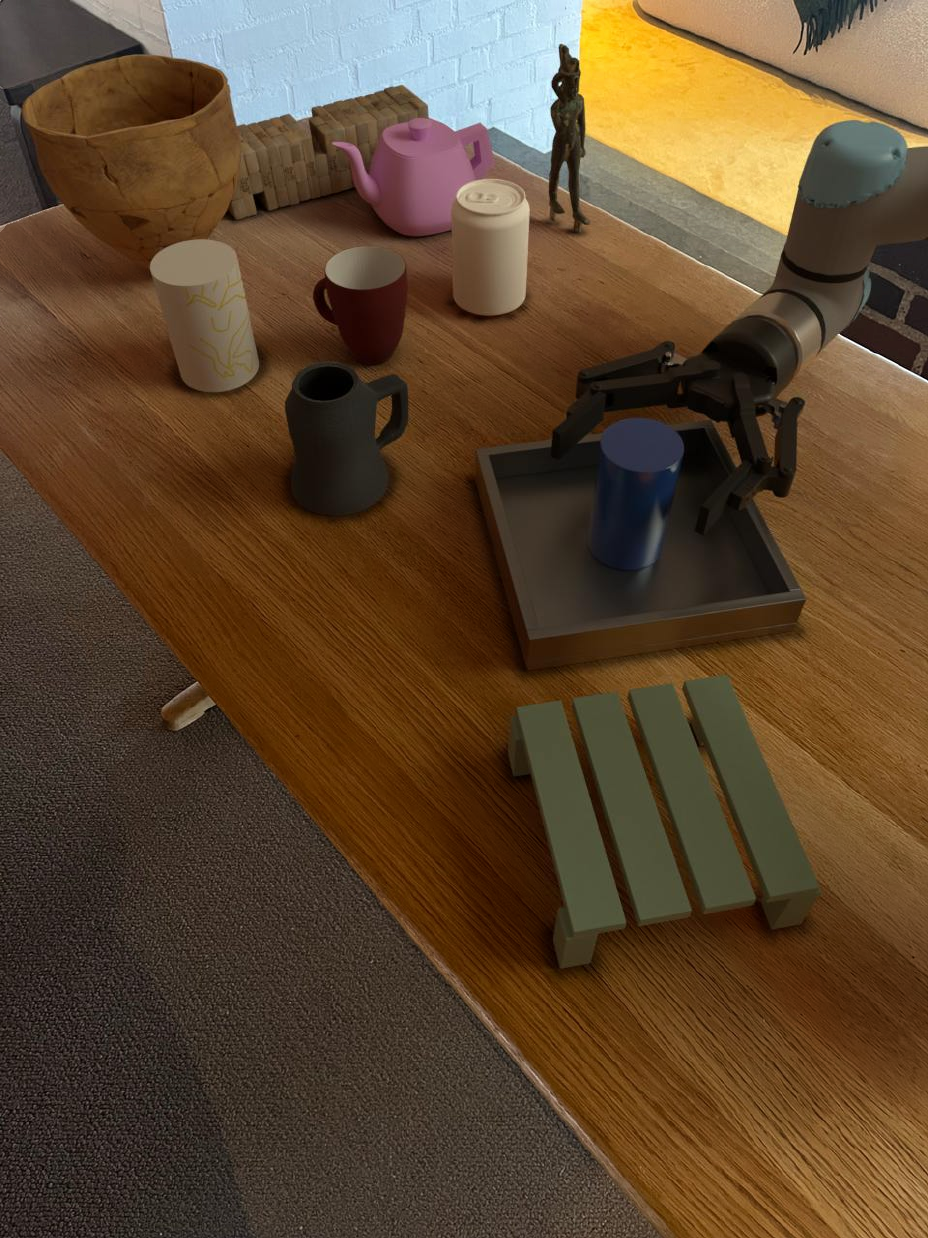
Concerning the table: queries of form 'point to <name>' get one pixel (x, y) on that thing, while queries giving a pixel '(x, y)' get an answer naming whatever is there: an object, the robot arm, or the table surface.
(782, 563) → the tray
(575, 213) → the statue
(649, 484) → the navy blue cylinder
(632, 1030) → the table surface
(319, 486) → the mug
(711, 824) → the rack
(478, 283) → the beverage can
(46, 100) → the bowl
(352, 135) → the block tower
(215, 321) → the cream marbled cylinder
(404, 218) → the teapot
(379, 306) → the mug
